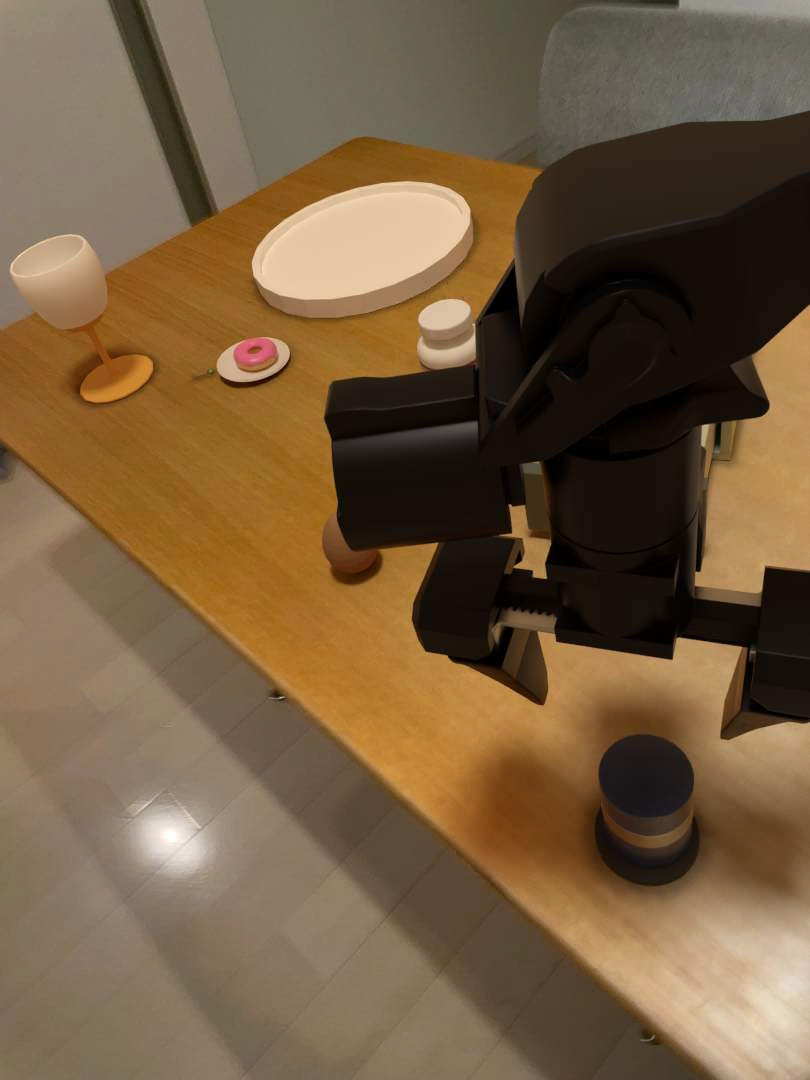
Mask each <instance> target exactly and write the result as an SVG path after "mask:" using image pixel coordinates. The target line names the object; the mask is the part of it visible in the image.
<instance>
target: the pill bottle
mask: <svg viewBox="0 0 810 1080" xmlns="http://www.w3.org/2000/svg"><path fill="white" fill-rule="evenodd" d="M471 309H472V308H471V306H470V304H468V303H467V302H466V301H464V300H461V299H456V298H448V299H442V300H437V301H435V302H433V303H431V304H429V305H427V306H426V307H425V308H423V310H421V311H420V313H419V315H418V318H417V322H418V326H419V330H420V335H421V336H420V337H419V339H418V342H417V345H416V353H417V358H418V362H419V365H420V369H421V372H425V371H432V370H438V369H445V368H452V367H458V366H465V365H471V364H475V368H476V345H475V322H474V316H473V313H472V310H471Z"/></svg>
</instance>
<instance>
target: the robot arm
mask: <svg viewBox="0 0 810 1080" xmlns="http://www.w3.org/2000/svg"><path fill="white" fill-rule="evenodd" d="M512 246H513V258H512V259H511V261H510V263H509V265H508V266H507V269H505V271H504V273H503V274H502V276H501V278H500V280H499V281H498V283H497V285H496V286H495V288H494V289H493V291H492V293H491V294H490V296H489V298H488V299H487V301H486V302H485V304H484V306H483V307H482V309H481V311H480V312H479V314H478V316H477V317H476V319H475V322H474V324H475V345H476V368H475V364H471V365H465V366H458V367H452V368H445V369H438V370H432V371H425V372H422V371H419V372H413V373H406V374H401V375H400V374H399V375H394V376H386V377H385V376H384V377H382V376H356V377H349V378H343V379H337V380H332V381H331V382H330V383H329V385H328V390H327V396H326V402H325V408H324V414H323V420H324V423H325V426H326V429H327V432H328V433H329V434H328V435H329V437H330V447H331V463H332V464H331V465H332V473H333V474H332V475H333V482H334V489H335V494H336V499H337V507H336V512H337V515H336V516H337V522H338V525H339V528H340V531H341V534H342V536H343V538H344V540H345V542H346V544H347V545H348V547H349V548H350V549H351V550H352V551H354V552H363V551H371V550H377V551H380V550H386V549H388V550H389V549H396V548H404V547H414V546H422V545H430V544H437V545H436V548H435V549H434V550H435V551H434V552H433V554H432V558H431V559H430V561H429V565H428V566H427V569H426V571H425V574H424V576H423V578H422V581H421V583H420V586H419V588H418V589H417V593H416V595H415V597H414V599H413V602H412V610H411V611H412V612H411V622H412V625H413V629H414V632H415V635H416V637H417V640H418V642H419V644H420V645H421V647H422V648H423V650H424V651H425V653H430V654H436V655H442V656H447V658H448V659H449V661H450V662H451V663H453V664H458V665H463V666H465V667H468V668H470V669H472V670H473V671H476V672H478V673H479V674H482V675H484V676H486V677H487V678H490V679H492V680H493V681H495V682H497V683H499V684H501V685H503V686H505V687H506V688H508V689H510V690H512V691H513V692H515V693H517V694H518V695H520V696H522V697H523V698H525V699H526V700H528V701H530V702H532V703H533V704H535V705H536V706H543V707H544V706H545V704H546V701H547V697H548V694H549V677H548V669H547V664H546V660H545V656H544V653H543V648H542V644H541V640H540V636H539V632H540V633H546V634H551V635H554V637H555V642H556V643H560V644H565V645H566V644H567V645H572V646H580V647H586V648H592V649H598V650H605V651H610V652H617V653H624V654H630V655H636V656H643V657H650V658H655V659H662V660H667V661H668V660H669V661H673V660H674V655H675V651H676V646H677V645H676V643H677V640H678V639H685V640H690V641H691V640H693V641H699V642H706V643H711V644H712V643H713V644H719V645H727V646H731V647H740V648H741V649H740V652H739V655H738V658H737V661H736V664H735V668H734V671H733V674H732V677H731V679H730V683H729V686H728V689H727V692H726V695H725V698H724V701H723V709H722V716H721V725H720V733H719V739H721V740H725V741H730V740H733V739H735V738H737V737H740V736H742V735H745V734H747V733H751V732H752V731H755V730H759V729H763V728H767V727H772V726H776V725H781V724H785V723H794V724H801V725H804V724H809V723H810V570H809V569H800V568H792V567H785V566H783V567H782V566H775V565H767V564H765V565H764V572H763V577H762V586H761V591H760V592H748V591H740V590H732V589H724V588H716V587H709V586H698V585H696V573H702V568H703V562H704V561H703V560H704V555H705V544H706V539H705V526H706V527H707V521H706V516H705V515H706V513H705V510H704V508H703V506H702V497H703V485H704V473H705V461H706V449H705V448H704V447H703V446H701V438H702V425H708V424H715V423H723V422H730V421H737V422H738V421H745V420H751V419H758V418H762V417H763V416H765V415H766V414H768V412H769V411H770V408H771V403H770V399H769V397H768V394H767V392H766V390H765V387H764V385H763V383H762V380H761V378H760V375H759V373H758V370H757V368H756V364H755V362H754V360H753V357H752V356H753V355H755V354H757V353H758V352H759V351H761V350H762V349H763V348H764V347H765V346H766V345H767V344H768V343H770V342H771V341H772V340H773V339H774V338H775V337H776V336H777V335H778V334H779V333H780V332H781V331H782V330H784V329H785V328H786V327H787V326H788V325H789V324H791V323H792V321H794V320H795V319H796V318H797V317H798V316H799V315H800V314H802V312H804V311H805V310H806V309H807V308H808V307H809V306H810V110H806V111H805V110H804V111H802V112H801V111H800V112H797V113H793V114H788V115H784V116H780V117H775V118H771V119H764V120H763V119H762V120H714V121H713V120H711V121H708V120H706V121H686V122H685V121H684V122H681V123H677V124H672V125H668V126H664V127H659V128H655V129H651V130H647V131H642V132H639V133H635V134H634V133H633V134H630V135H625V136H622V137H617V138H613V139H609V140H605V141H601V142H596V143H592V144H589V145H585V146H583V147H579V148H575V149H574V150H573V151H571V152H569V153H567V154H565V155H564V156H562V157H560V158H559V159H557V160H555V161H554V162H552V163H551V164H548V165H547V166H546V167H545V168H544V170H542V171H541V172H540V173H539V174H538V176H536V177H535V178H534V180H533V181H532V183H531V188H530V189H529V191H528V192H527V195H526V196H525V199H524V201H523V202H522V205H521V207H520V208H519V211H518V213H517V214H516V219H515V226H514V232H513V241H512ZM539 462H540V464H541V472H542V479H543V487H544V494H545V502H546V509H547V517H548V524H549V531H550V532H549V540H550V539H551V541H550V546H549V549H548V552H547V556H546V559H545V562H544V567H545V574H546V576H545V577H546V578H543V577H535V576H534V570H532V569H529V568H528V569H527V568H520V567H519V568H518V567H515V566H517V565H519V564H520V563H521V562H523V560H524V558H525V557H524V556H525V554H526V551H525V545H524V538H523V537H516V536H509V535H513V524H512V516H511V509H510V508H511V507H512V508H515V507H522V506H524V507H525V505H526V491H525V480H524V470H523V464H525V463H539ZM510 505H511V507H510Z"/></svg>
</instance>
